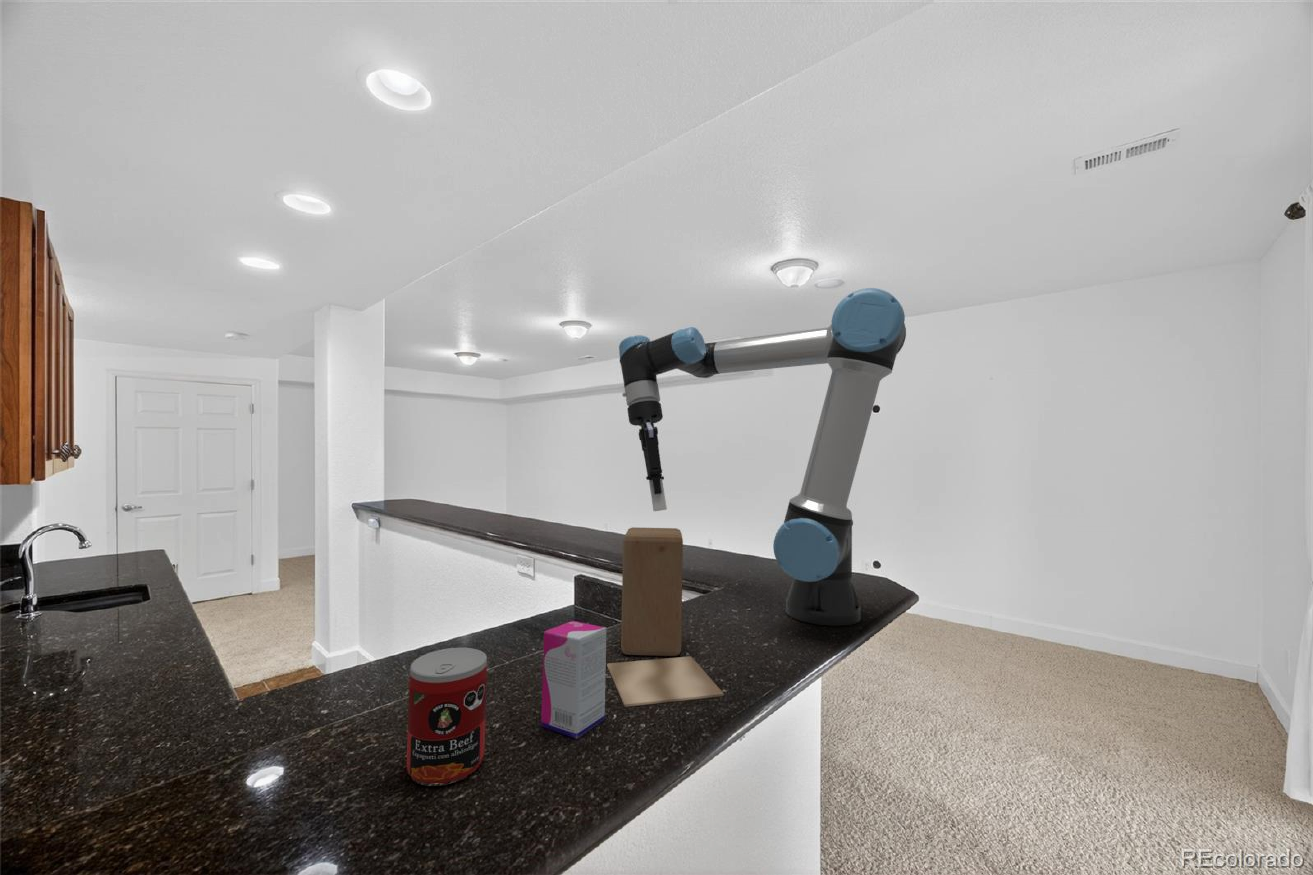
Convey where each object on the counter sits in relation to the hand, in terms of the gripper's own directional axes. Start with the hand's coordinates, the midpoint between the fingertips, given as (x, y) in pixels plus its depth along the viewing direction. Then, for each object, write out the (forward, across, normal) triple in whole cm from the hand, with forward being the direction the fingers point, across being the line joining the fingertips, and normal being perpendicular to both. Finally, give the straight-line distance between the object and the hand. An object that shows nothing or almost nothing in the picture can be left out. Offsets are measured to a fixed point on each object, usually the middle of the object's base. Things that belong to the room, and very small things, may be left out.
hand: (660, 510), depth 111 cm
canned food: (+29, +47, -31) cm, 63 cm away
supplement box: (+29, +39, -18) cm, 51 cm away
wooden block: (+25, +14, -6) cm, 29 cm away
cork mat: (+28, +27, -6) cm, 39 cm away
